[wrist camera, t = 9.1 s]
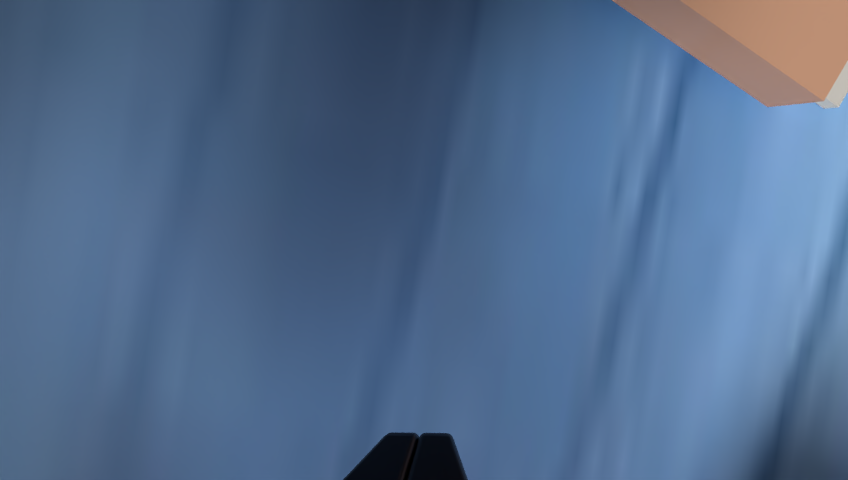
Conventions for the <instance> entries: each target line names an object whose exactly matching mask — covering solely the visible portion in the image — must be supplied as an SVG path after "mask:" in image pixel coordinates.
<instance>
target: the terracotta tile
mask: <svg viewBox="0 0 848 480" xmlns="http://www.w3.org/2000/svg"><path fill="white" fill-rule="evenodd" d="M612 1H613V2H615V3H616V4H618V5H619V6H621V7H622V8H624V9H625V10H627V11H628V12H629V13H631V14H632V15H634V16H635V17H637V18H638V19H640V20H641V21H643V22H644V23H645V24H647V25H648V26H650V27H651V28H653V29H654V30H656V31H657V32H659V33H660V34H662V35H663V36H664V37H666V38H667V39H669V40H670V41H672V42H673V43H675V44H676V45H678V46H679V47H681V48H682V49H683V50H685V51H686V52H688V53H689V54H691V55H692V56H694V57H695V58H697V59H698V60H700V61H701V62H702V63H704V64H705V65H707V66H708V67H710V68H711V69H713V70H714V71H716V72H717V73H719V74H720V75H721V76H723V77H724V78H726V79H727V80H729V81H730V82H732V83H733V84H735V85H736V86H738V87H739V88H740V89H742V90H743V91H745V92H746V93H748V94H749V95H751V96H752V97H754V98H755V99H756V100H758V101H759V102H761V103H762V104H764V105H765V106H767V107H773V106H783V105H792V104H802V103H811V102H821V101H824V100H825V98H826V97H827V95H828V93H829V92H830V90H831V88H832V86H833V85H834V83H835V81H836V80H837V78H838V76H839V75H840V73H841V71H842V69H843V68H844V66H845V64H846V63H847V61H848V0H612Z"/></svg>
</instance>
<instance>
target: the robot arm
mask: <svg viewBox="0 0 848 480" xmlns="http://www.w3.org/2000/svg"><path fill="white" fill-rule="evenodd" d="M343 480H468V479H467V476H466V474H465V471H464V468H463V465H462V462H461V459H460V456H459V453H458V451H457V448H456V445H455V442H454V439H453V437H452V436H451V435H450V434H448V433H423V434H422V435H421V436H420V437H419V436H418V435H417V434H416V433H388V434H387V435H385V436H384V437H383V438H382V439H381V440H380V441H379V442H378V444H377V445H376V446H375V447H374V448H373V449H372V450H371V451H370V452H369V453H368V454H367V455H366V456H365V457H364V458H363V459H362V460H361V461H360V462H359V464H358V465H357V466H356V467H355V468H354V469H353V470H352V471H351V472H350V473H349V474H348V475H347V476H346V477H345V478H344V479H343Z"/></svg>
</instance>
